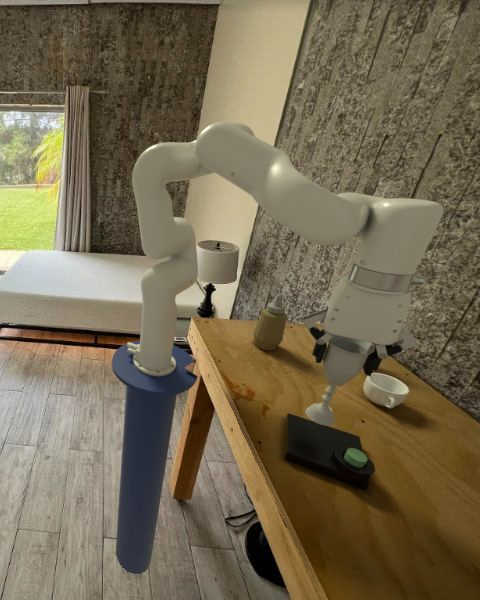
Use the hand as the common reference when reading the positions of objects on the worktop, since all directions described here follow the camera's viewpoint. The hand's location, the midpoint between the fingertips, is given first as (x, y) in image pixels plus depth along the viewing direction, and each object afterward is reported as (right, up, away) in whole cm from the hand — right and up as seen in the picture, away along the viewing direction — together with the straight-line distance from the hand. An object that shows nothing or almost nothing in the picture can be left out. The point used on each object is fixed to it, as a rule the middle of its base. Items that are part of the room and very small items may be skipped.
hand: (341, 364), depth 60 cm
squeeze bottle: (+10, -3, +42) cm, 43 cm away
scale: (+1, -19, +6) cm, 20 cm away
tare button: (+3, -18, 0) cm, 18 cm away
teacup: (+25, -13, +19) cm, 34 cm away
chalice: (0, -12, +6) cm, 13 cm away
